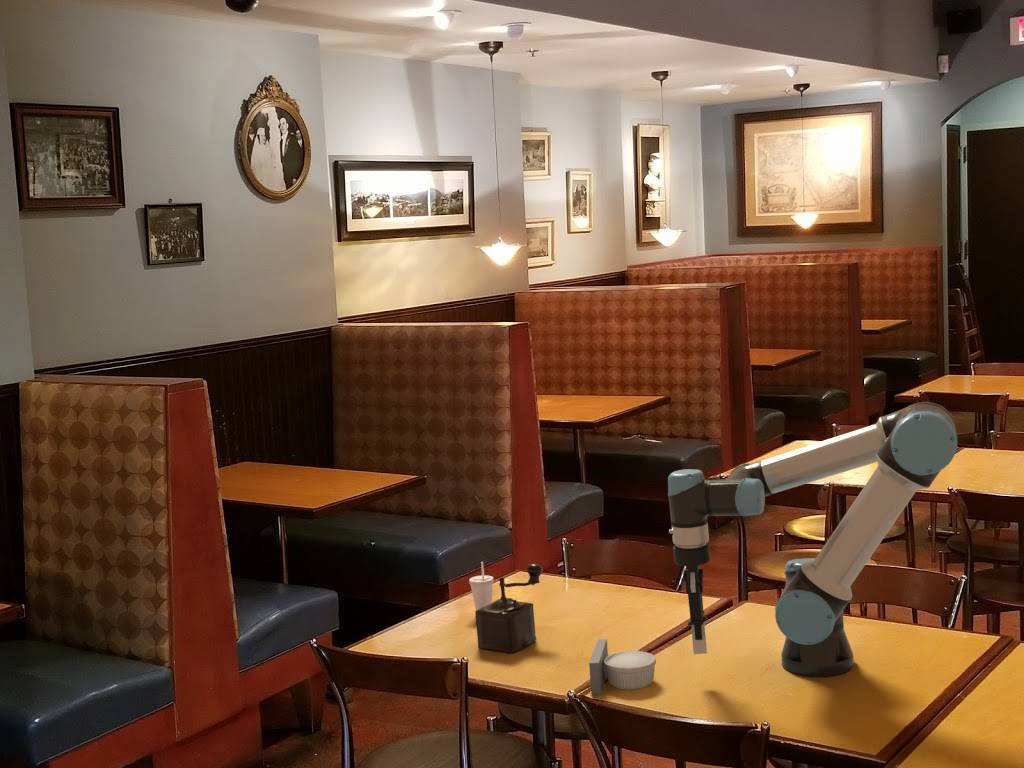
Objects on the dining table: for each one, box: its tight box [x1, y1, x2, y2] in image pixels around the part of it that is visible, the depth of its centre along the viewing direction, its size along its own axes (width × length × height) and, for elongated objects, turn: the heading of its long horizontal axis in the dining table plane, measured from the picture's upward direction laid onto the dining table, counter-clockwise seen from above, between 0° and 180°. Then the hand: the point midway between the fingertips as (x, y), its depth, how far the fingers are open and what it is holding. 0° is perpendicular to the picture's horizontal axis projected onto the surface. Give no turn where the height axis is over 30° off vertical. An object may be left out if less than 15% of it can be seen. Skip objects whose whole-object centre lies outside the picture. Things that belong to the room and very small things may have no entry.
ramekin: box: [603, 650, 657, 691], centre depth 261 cm, size 11×11×5 cm
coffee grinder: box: [475, 563, 544, 655], centre depth 292 cm, size 16×11×18 cm
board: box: [588, 638, 609, 696], centre depth 262 cm, size 2×15×7 cm, turn 169°
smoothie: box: [468, 561, 495, 611], centre depth 315 cm, size 6×6×14 cm
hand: (700, 652), depth 258 cm, fingers closed
